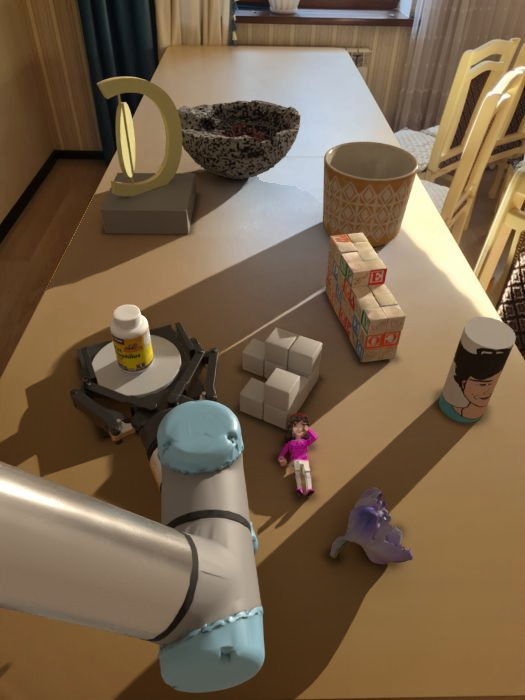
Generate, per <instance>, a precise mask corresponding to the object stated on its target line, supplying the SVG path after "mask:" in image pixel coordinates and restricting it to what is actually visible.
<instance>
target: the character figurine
mask: <svg viewBox="0 0 525 700" xmlns="http://www.w3.org/2000/svg"><path fill="white" fill-rule="evenodd" d="M318 438H319V436H318V435H317V434H316V433H315V432H314V431H313V429H312V428H311V427H310V420H309V416H307V414H306V413H305V414H304V413H303V412H300V413H299V412H297V414H293V415H292V416H290V421H289V424H288V426H287V429H286V435H285V434H284V436H283V441H284V442H285V443H284V446H283V447H282V450H281V452H280V453H279V455H278V457H277V461H278V463H279V464H280V467H284V466H285V467H286V466H287V463H288V461H287V458H285V456H286V455H287V452H288V451H289V454H290V455H291V456H290V460H289V465H291V467H292V468H294V473H295V480H296V486H297V488H296V489H295V493H296V494H297V495H298V497H303V496H304V491H303V486H302V480H301V475H302V476H303V477H304V486H305V495H306V497H309V498H310V497H312V496H313V495H314V493H315V491H316V490H315V488H312V487H313V486H312V475H311V468H310V462H309V458H308V455H307V454H308V452H309V447H310V446H311V445H312V444H313V443H314V442H316V441H317V440H318Z"/></svg>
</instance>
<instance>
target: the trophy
mask: <svg viewBox="0 0 525 700" xmlns="http://www.w3.org/2000/svg"><path fill="white" fill-rule="evenodd" d="M96 86H97V87H98V89H99V90H100V93H101V94H102V96H103V97H104V98H105V99H107V100H109V99H112V98H113V97H115V96H117V100H118V101H117V102H118V105H117V107H116V112H115V140H116V141H115V142H116V143H115V144H116V153H117V158H118V163H119V167H120V170H121V172H117V173H116V175H115V177H114V179H113V180H110V188H109V190H108V192H107V195H106V197H105V199H104V201H103V203H102V204H101V205H102V206H101V207H100V209H99V211H100V215H101V220H102V225H103V230H104V233H105V234H165V235H166V234H168V235H170V234H171V235H172V234H173V235H174V234H175V235H176V234H177V235H188V234H190V229H191V224H192V220H193V214H194V209H195V203H196V198H197V187H196V174H195V173H183V172H182V173H177V172H178V169H179V166H180V163H181V158H182V153H183V146H182V127H181V121H180V117H179V114H178V111H177V110H178V108H177V106H176V104H175V102H174V101H173V99H172V98H171V96H170V95H169V94H168V93H167V92H166V90H164V89H163V88H161V86H159V85H157V84H155V83H153V82H151V81H149V80H147V79H144V78H140V77H138V76H137V77H136V76H113V77H109V78H105V79H103V80H100V81H98V82H96ZM129 93H134V94H140V95H143V96H146V97H147V98H148V99H150V100H151V101H152V102H153V103H154V104H155V106H156V108H157V109H158V111H159V113H160V115H161V118H162V122H163V125H164V129H165V130H164V131H165V151H164V156H163V160H162V163H161V165H160V167H159V169H158V170H157V171H156V172H135V169H136V168H135V167H136V139H135V127H134V121H133V117H132V113H131V109H130V106H129V104H128V103H127V102H126V101H122V100H121V95H122V94H129Z"/></svg>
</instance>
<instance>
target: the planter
mask: <svg viewBox="0 0 525 700" xmlns="http://www.w3.org/2000/svg"><path fill="white" fill-rule="evenodd" d="M418 168H419V162H418V159H417V158H416V157H415V155H413V154H412V153H411V152H409V151H408V150H406V149H403V148H401V147H398V146H395V145H392V144H388V143H385V142H384V143H383V142H377V141H351V142H344V143H340V144H338V145H335V146H333V147H330V148H329V149H328V150H327V151H326V152H325V154H324V156H323V191H322V192H323V196H322V197H323V198H322V199H323V200H322V201H323V202H322V225H323V228H324V230H325V231H326V233H327V234H328V236H329V237H330V236H335V235H343V234H346V235H347V234H353V233H363V234H364V235H365V237H366V238H367V240H368V242H369V243H370V245H371V246H372V248H375V247H380V246H384V245H387V244H389V243H390V242H391V241H393V240H394V239H395V238H396V237H397V236H398V234H399V233H400V230H401V227H402V223H403V221H404V217H405V213H406V210H407V206H408V203H409V200H410V196H411V194H412V190H413V186H414V182H415V179H416V175H417V172H418Z"/></svg>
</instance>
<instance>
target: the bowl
mask: <svg viewBox="0 0 525 700" xmlns="http://www.w3.org/2000/svg"><path fill="white" fill-rule="evenodd" d="M177 111H178V114H179V117H180V121H181V127H182V149H184V150H185V151H184V152H186V154H188V156H189V157H190V158H191V159H192V160H193V161H194V162H195V164H197V165H198V166H200V168H203V169H204V170H205V171H207V172H210V173H212V174H215V175H217V176H220V177H223V178H228V179H236V180H241V179H243V180H244V179H249V178H254V177H256V176H259V175H261V174H263V173H266V172H268V171H269V170H271V169H273V168H275V166H276V165H277V164H279V163H280V162H281V161H282V160H283V159H284V158H285V157H287V154H288V153H289V152H290V150H291V149H292V146H293V145H294V143H295V142H296V140H297V137H298V134H299V131H300V128H301V114H300V112H299V110H297V109H296V108H295V107H293V106H289V107H287V106H283V105H279V104H276V103H274V102H273V103H272V102H269V101H265V100H257V99H254V100H251V101H247V100H236V101H232V102H222V103H221V102H219V103H214V104H200V105H197V106H193V107H191V106H187V105H183V106H180V107H179V108H177Z"/></svg>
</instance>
